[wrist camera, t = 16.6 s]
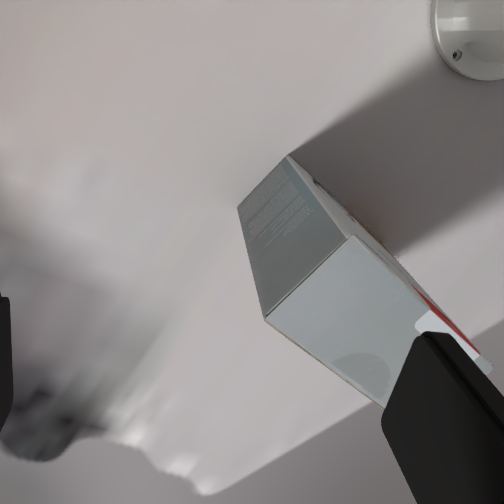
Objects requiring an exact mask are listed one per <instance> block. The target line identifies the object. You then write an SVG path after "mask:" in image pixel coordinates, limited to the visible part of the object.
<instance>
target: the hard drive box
mask: <svg viewBox="0 0 504 504" xmlns="http://www.w3.org/2000/svg"><path fill="white" fill-rule="evenodd" d="M237 210H238V215H239V219H240V223H241V227H242V231H243V236H244V240H245V244H246V248H247V252H248V256H249V260H250V264H251V269H252V273H253V277H254V281H255V285H256V289H257V293H258V297H259V302H260V306H261V310H262V314H263V318H264V321H265V322H266V323H268V324H269V325H270V326H271V327H273V328H274V329H275V330H277V331H278V332H279V333H281V334H282V335H283V336H285V337H286V338H287V339H289V340H290V341H291V342H293V343H294V344H296V345H297V346H298V347H300V348H301V349H302V350H304V351H305V352H306V353H308V354H309V355H310V356H312V357H313V358H314V359H316V360H317V361H319V362H320V363H321V364H323V365H324V366H326V367H327V368H328V369H330V370H331V371H332V372H334V373H335V374H336V375H338V376H339V377H340V378H342V379H343V380H345V381H346V382H347V383H349V384H350V385H351V386H353V387H354V388H355V389H357V390H358V391H359V392H361V393H362V394H363V395H365V396H366V397H367V398H369V399H370V400H371V401H373V402H374V403H375V404H377V405H378V406H379V407H381V408H382V409H383V410H385V407H386V405H387V403H388V400H389V398H390V395H391V393H392V391H393V388H394V386H395V384H396V381H397V379H398V376H399V374H400V372H401V369H402V367H403V364H404V362H405V360H406V357H407V355H408V353H409V350H410V348H411V345H412V343H413V341H414V339H415V338H416V337H417V336H420V335H421V334H422V333H423V332H425V331H433V332H443V333H449V334H450V335H451V336H453V338H454V339H455V340H456V341H457V342H458V344H459V345H460V346H461V347H462V348H463V349H464V351H465V352H466V353H467V354H468V355H469V356H470V358H471V359H472V360H473V361H474V362H475V364H476V365H477V366H478V367H479V368H480V369H481V371H482V372H483V373H484V374H485V375H486V374H488V373H489V372H490V371H491V370H492V369H493V368H494V366H493V365H492V364H491V363H490V362H489V361H488V360H487V359H486V358H485V356H484V355H483V354H482V353H481V352H480V351H479V350H478V349H477V348H476V347H475V345H474V344H473V343H472V342H471V341H470V340H469V339H468V338H467V337H466V336H465V335H464V334H463V332H462V331H461V330H460V329H459V328H458V327H457V326H456V325H455V324H454V323H453V322H452V320H451V319H450V318H449V317H448V316H447V315H446V314H445V313H444V312H443V311H442V309H441V308H440V307H439V306H438V305H437V304H436V303H435V302H434V301H433V300H432V298H431V297H430V296H429V295H428V294H427V293H426V292H425V291H424V290H423V288H422V287H421V286H420V285H419V284H418V283H417V282H416V281H415V280H414V278H413V277H412V276H411V275H410V274H409V273H408V272H407V271H406V270H405V268H404V267H403V266H402V265H401V264H400V263H399V262H398V261H397V260H396V259H395V258H394V257H393V255H392V254H391V253H390V252H389V251H388V250H387V249H386V248H385V247H384V246H383V245H382V244H381V243H380V242H379V241H378V240H377V239H376V238H375V237H374V236H373V235H372V234H371V233H370V232H369V231H368V230H366V229H365V228H364V227H363V226H362V225H361V224H360V223H359V222H358V221H357V220H356V219H355V218H354V217H353V216H352V215H351V214H350V213H349V212H348V211H347V210H346V209H345V208H344V207H343V206H342V205H340V204H339V203H338V202H337V201H336V200H335V199H334V198H333V197H332V196H331V195H330V194H329V193H328V192H327V191H326V190H325V189H324V188H323V187H322V186H321V185H320V184H319V183H318V182H317V181H316V180H315V179H314V178H312V177H311V176H310V175H309V174H308V173H307V172H306V171H305V170H304V169H303V168H302V167H301V166H300V165H299V164H298V163H297V162H296V161H295V160H293V159H292V158H291V157H290V156H289V155H287V156H286V157H285V158H284V159H283V160H282V161H281V162H280V163H279V164H278V165H277V166H276V167H275V168H274V169H273V170H272V171H271V172H270V173H269V174H268V175H267V176H266V178H265V179H264V180H263V181H262V182H261V183H260V184H259V185H258V186H257V187H256V188H255V189H254V190H253V191H252V192H251V193H250V194H249V195H248V196H247V197H246V198H245V200H244V201H243V202H242V203H241V204H240V205H239V206H238V207H237Z"/></svg>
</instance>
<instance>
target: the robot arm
mask: <svg viewBox="0 0 504 504" xmlns="http://www.w3.org/2000/svg"><path fill="white" fill-rule="evenodd" d="M431 28H432V36H433V39H434V42H435V45H436V48H437V50H438V52H439V53H440V55H441V57H442V58H443V60H444V61H445V62H446V63H447V64H448V65H449V66H450V68H451V69H453V70H454V71H456V72H457V73H459V74H460V75H462V76H465V77H468V78H471V79H476V80H482V81H496V80H501V79H504V0H432V4H431ZM453 53H454V57H453ZM12 402H13V370H12V345H11V320H10V301H9V298H8V297H1V293H0V431H1V429H2V427H3V425H4V423H5V421H6V419H7V417H8V415H9V412H10V410H11V407H12ZM381 426H382V430H383V433H384V435H385V437H386V439H387V441H388V443H389V445H390V447H391V449H392V451H393V454H394V456H395V458H396V460H397V462H398V464H399V466H400V468H401V470H402V472H403V475H404V476H405V479H406V481H407V483H408V485H409V487H410V489H411V492H412V494H413V496H414V498H415V500H416V502H417V504H504V397H503V395H502V394H501V393H500V392H499V391H498V389H497V388H496V387H495V386H494V385H493V384H492V382H491V381H490V380H489V379H488V378H487V377H486V375H485V374H484V373H483V372H482V371H481V369H480V368H479V367H478V366H477V365H476V364H475V362H474V361H473V360H472V359H471V358H470V356H469V355H468V354H467V353H466V352H465V351H464V349H463V348H462V347H461V346H460V345H459V344H458V342H457V341H456V340H455V339H454V338H453V336H451V335H450V334H449V333H443V332H433V331H425V332H423V333H422V334H421V335H420V336H417V337H416V338H415V339H414V341H413V343H412V345H411V348H410V350H409V353H408V355H407V357H406V360H405V362H404V364H403V367H402V369H401V372H400V374H399V376H398V379H397V381H396V384H395V386H394V388H393V391H392V393H391V395H390V398H389V400H388V403H387V405H386V407H385V410H384V412H383V415H382V418H381Z"/></svg>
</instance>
